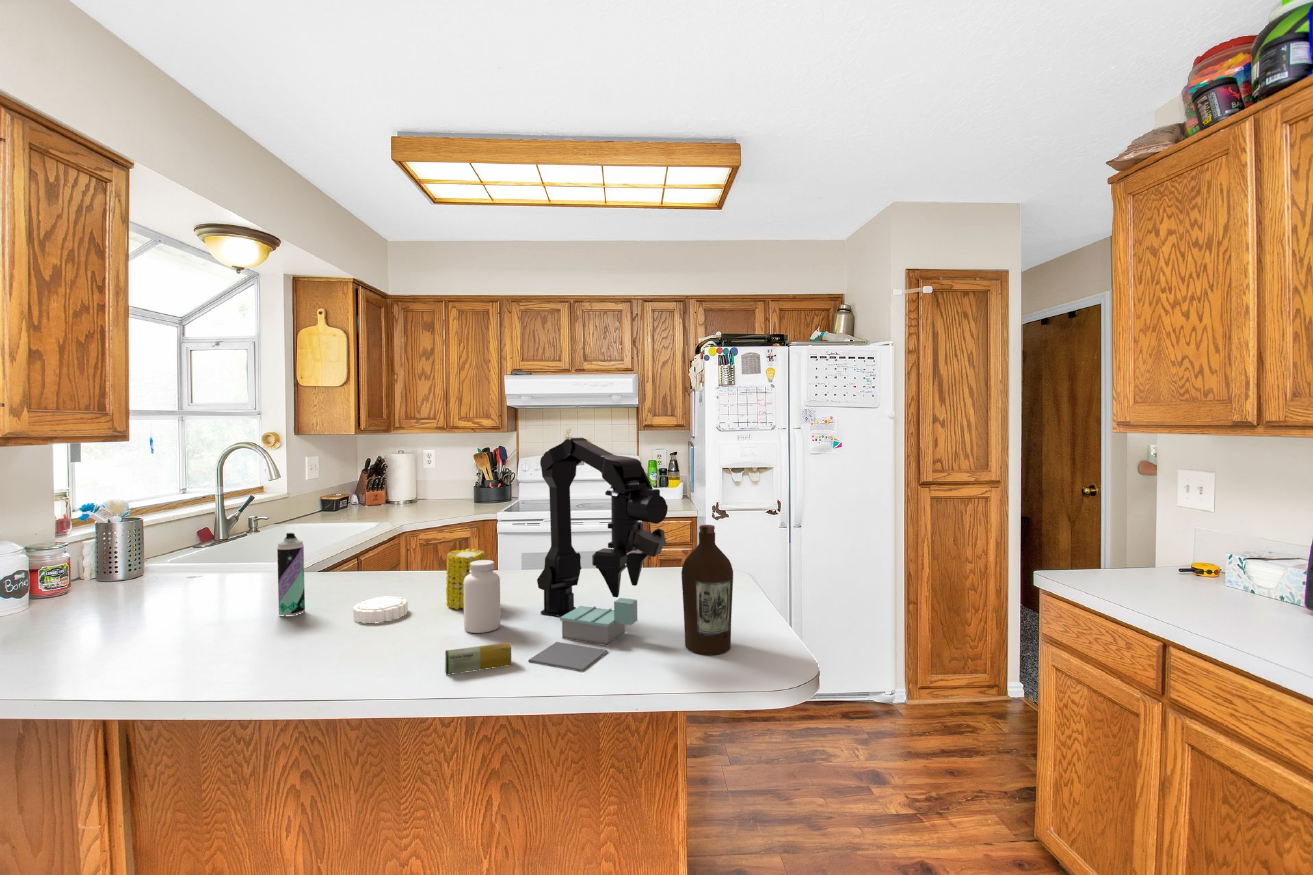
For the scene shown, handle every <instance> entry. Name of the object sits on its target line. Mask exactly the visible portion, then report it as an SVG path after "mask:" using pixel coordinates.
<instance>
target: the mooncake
mask: <svg viewBox="0 0 1313 875" xmlns="http://www.w3.org/2000/svg"><path fill="white" fill-rule="evenodd" d="M408 604H409V601H408V600H407V598H404V597H401V596H389V595H388V596H387V595H386V596H377V597H374V598H371V599H370V598H369V599H366V600H363V601H360V602H358V603H357V604H355V605H354V606H353V607H352V613H353V614H352V615H353V616H352V617H353V618H354V619H353V618H352V619H353V622H355V621H357V622H362V623H375V622H383V621H390V620H392V619H397V618H398V617H402V616H403V617H405V616H406V614H408V613H409V606H408ZM407 612H408V613H407ZM404 615H405V616H404ZM403 617H402V618H403ZM398 619H399V618H398ZM398 619H397V620H398ZM392 621H393V620H392ZM357 622H356V623H357ZM390 622H391V621H390ZM362 623H361V624H362ZM383 623H384V622H383ZM375 624H376V623H375Z"/></svg>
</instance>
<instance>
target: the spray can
mask: <svg viewBox="0 0 1313 875" xmlns="http://www.w3.org/2000/svg"><path fill="white" fill-rule="evenodd" d="M285 534H286V536H285V537H284V538H283V540H282V541H280V542H278V543H277V548H276V549H277V552H276V553H277V554H276V555H277V589H278V590H277V591H278V592H277V594H278V595H277V596H278V616H279V615H284V616H286V615H296V614H299V613H302V612H304V611H305V610H306V605H305V604H306V603H305V602H306V600H305V598H306V597H305V596H306V595H305V592H306V591H305V555H304V554H305V553H304V551H305V550H304V547H305V546H304V541H302V540H300V539H298V537H297V536H296V535H295V533H294V532H286V533H285ZM305 612H306V611H305ZM305 612H304V613H305Z"/></svg>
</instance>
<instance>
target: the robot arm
mask: <svg viewBox="0 0 1313 875" xmlns="http://www.w3.org/2000/svg"><path fill="white" fill-rule="evenodd" d="M539 462H540V463H539V465H540V469H541V476H542V478H543V480H544V482H545V484H547V486H548V488H549V489H548V490H549V516H550V517H549V518H550V521H549V522H550V548H549V550H548V551H547V554H546V555H545V558H544V568H543V570H542V571H541V573H540V574H539V576H538V578H537V579H536V582H537V586H538V589H540V590H542V591H543V607H544V608H543V609H542V610H541V611H539V612H540V614H541V615H548V616H554V617H555V616H556V617H562V616H564V615H565V614H567V613H569V612H571V611H572V610H574V609H576V608H577V607H576V606H575V598H574V597H575V596H574V595H575V593H574V592H573V586H578V583H579V578H580V575H581V571H582V564H581V554H580V552H577V551H576V550H575V549H574V547H573V545H572V544H573V542H572V540H573V539H572V538H573V537H572V513H571V512H572V511H571V510H572V509H571V508H572V507H571V485H572V483H573V481H574V479H575V478H576V476H577V466H579V465H580V464H581V463H585V464H586V465H588V466H590V467H591V468H594V469H595V470H597V471H599V473H601V478H602V479H603V480H604V481H605V482H606V483H608V484H609V486H610V487H609V488H608V489H607V490H606V491H605V492H604V494H605V496H610V498H611V502H610V504H611V507H610V508H611V522H609V523H607V529H611V541H610V542H608V543H607V548H606V547H604V548H601V549H599V550H597V551H595V552H594V553H593V554H592V556H591V558H592V559H591V560H592V562H591V563H592V564H591V565H592V566H595V568H596V569H597V570H598V571H599V573H600V574H601V576H602V577H603V579H604V581H605V583H606V585H607V587H608V589H609V591H610V593H611V595H612V597H613V598H619V597H620V596H619V595H620V589H621V588H620V587H621V579H622V573H623V571H624V570H625V569H626V568H627V573H628V576H629V580H630V583H631V586H634V587H635V586H638V582H639V579H640V576H641V571H642V569H643V564H644V562H645V560H646V559H647V558H648V557H652V558H655V557H657V555H661V553H662V550H663V547H664V546H665V545H666V544H667V541H666V540H667V538H666V536H665V530H663V529H661V528H660V527H658V528H655V529H654V530H653V531H651V530H646V529H644V524H643V522H644V523H649V524H654V525H658V524H661V523H662V522H663V521H664V520H665V518H666V516H667V513H668V504H667V501H666V499H665V498H664V496H661V490H660V489H658V488H653V486H652V484H651V481H650V480H649V477H648V476H647V473H646V471H645V469H644V468H643V466H642V462H641V461H640V460H639V459H638V458H635V457H630V456H626V455H625V456H624V455H617V454H613V453H611V452H609V451H608V450H605V448H602V447H600V446H598V445H596V444H594V443H592V442H590V441H588V439H587V438H584V437H568V438H567V439H564V441H563V442H562V443H559V444H557V445H555V446H554V447H551V448H550V449H548V450H546V451H545V452H544V453H543V455H542V456H541V458H540V461H539Z"/></svg>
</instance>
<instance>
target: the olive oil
mask: <svg viewBox="0 0 1313 875" xmlns="http://www.w3.org/2000/svg"><path fill="white" fill-rule="evenodd" d="M698 529H699V532H698V545H697V546H696V547H695V548H694V549H693V550H692V551H691V552H690V553H689V555H687V557H686V558H684V561H683V564H682V568H681V589H682V604H683V607H682V608H683V624H684V625H683V626H684V630H683V631H684V647H685V649H686V650H688V651H689V652H692V653H693V654H697V655H703V656H715V655H721V654H725V653H726V652H728V651H730V649H731V645H732V643H731V642H732V641H731V639H732V613H733V610H732V609H733V589H734V586H733V585H734V569H733V566H732V563H731V561H730V559H729V558H728V557H727V555H726V554H725V553H724V552H723V551H722V550H721V549H720V548H719V546H718V545H716V532H715V529H716V527H715V525H713V524H700V525H699V526H698Z"/></svg>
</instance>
